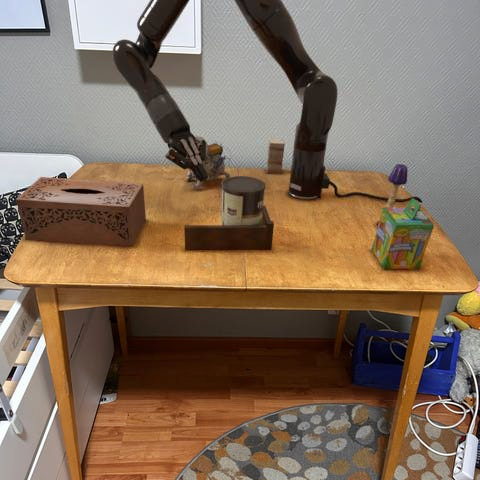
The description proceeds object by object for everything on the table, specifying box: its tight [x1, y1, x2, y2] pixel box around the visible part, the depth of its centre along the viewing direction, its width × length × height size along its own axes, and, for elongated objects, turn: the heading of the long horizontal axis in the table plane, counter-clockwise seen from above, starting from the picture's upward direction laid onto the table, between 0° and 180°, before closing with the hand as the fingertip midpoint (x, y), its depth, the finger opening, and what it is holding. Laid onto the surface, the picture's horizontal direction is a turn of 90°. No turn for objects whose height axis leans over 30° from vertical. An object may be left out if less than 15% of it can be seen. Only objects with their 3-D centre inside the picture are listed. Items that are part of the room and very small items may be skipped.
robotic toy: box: [186, 135, 232, 190], centre depth 141 cm, size 13×17×15 cm
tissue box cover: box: [15, 176, 147, 248], centre depth 114 cm, size 26×14×10 cm, turn 87°
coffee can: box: [220, 175, 267, 225], centre depth 113 cm, size 10×10×14 cm
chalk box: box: [371, 198, 435, 270], centre depth 107 cm, size 9×9×15 cm
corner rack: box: [183, 205, 275, 252], centre depth 115 cm, size 21×13×7 cm, turn 96°
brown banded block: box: [265, 138, 286, 175], centre depth 154 cm, size 5×4×10 cm
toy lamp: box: [376, 163, 408, 228], centre depth 122 cm, size 5×5×17 cm
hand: (204, 179), depth 117 cm, fingers closed
